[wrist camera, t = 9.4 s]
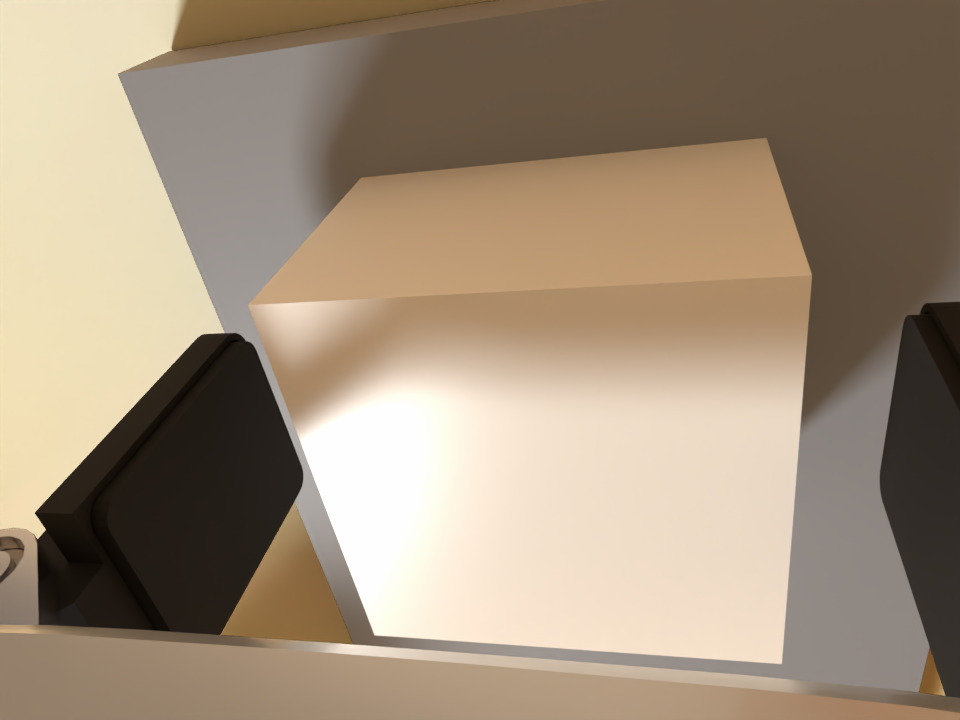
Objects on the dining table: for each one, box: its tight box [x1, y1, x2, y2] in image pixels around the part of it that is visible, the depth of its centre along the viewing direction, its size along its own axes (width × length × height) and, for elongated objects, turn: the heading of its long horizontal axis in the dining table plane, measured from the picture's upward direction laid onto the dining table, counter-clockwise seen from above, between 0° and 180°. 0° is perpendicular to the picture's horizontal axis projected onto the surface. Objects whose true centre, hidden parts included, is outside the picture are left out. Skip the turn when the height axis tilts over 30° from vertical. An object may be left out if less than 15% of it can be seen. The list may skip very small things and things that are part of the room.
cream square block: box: [248, 138, 812, 664], centre depth 11 cm, size 6×6×4 cm
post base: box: [118, 0, 960, 693], centre depth 15 cm, size 13×20×4 cm, turn 10°
